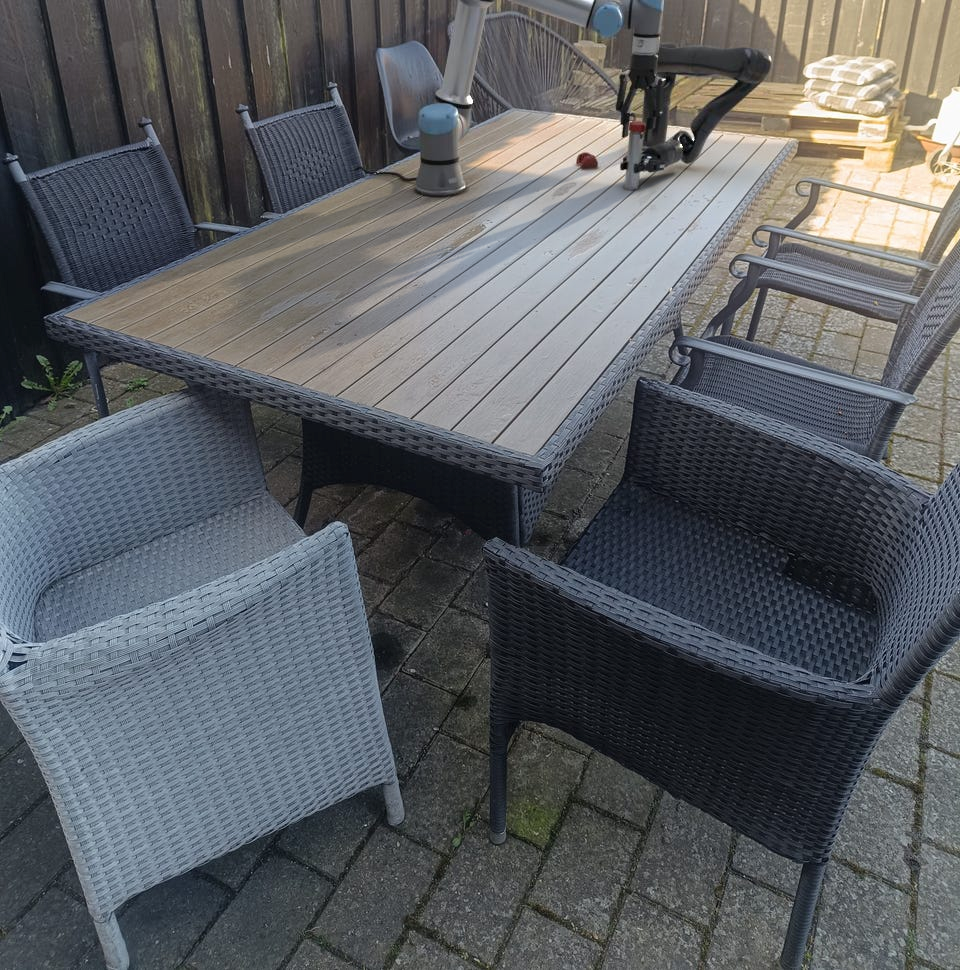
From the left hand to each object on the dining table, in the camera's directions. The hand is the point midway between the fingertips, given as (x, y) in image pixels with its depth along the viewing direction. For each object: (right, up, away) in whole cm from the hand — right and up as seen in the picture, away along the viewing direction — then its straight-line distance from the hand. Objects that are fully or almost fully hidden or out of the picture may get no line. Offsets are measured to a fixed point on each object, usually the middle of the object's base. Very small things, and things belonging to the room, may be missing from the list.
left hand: (636, 138), depth 252 cm
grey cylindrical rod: (0, -12, +8) cm, 15 cm away
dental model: (-11, +2, +28) cm, 30 cm away
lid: (0, +3, -2) cm, 4 cm away
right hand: (-2, -8, +3) cm, 9 cm away
